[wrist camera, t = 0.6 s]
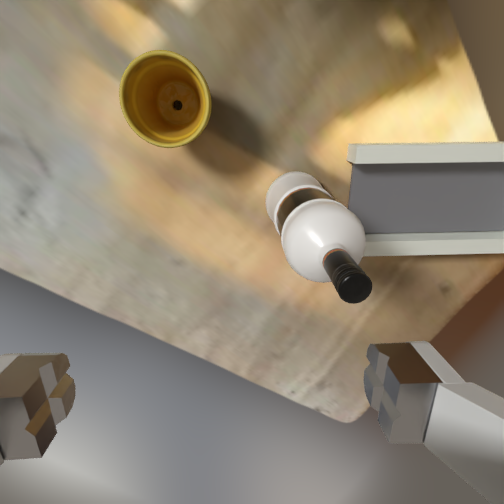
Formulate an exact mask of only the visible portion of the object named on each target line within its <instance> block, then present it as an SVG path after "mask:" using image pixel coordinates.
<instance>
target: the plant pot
mask: <svg viewBox="0 0 504 504" xmlns="http://www.w3.org/2000/svg"><path fill="white" fill-rule="evenodd" d="M119 97H120V105H121V109H122V112H123V115H124V117H125V119H126V121H127V123H128V124H129V126H130V127H131V128H132V130H133V131H134V132H135V133H136V134H137V135H138V136H139V137H141V138H142V139H143V140H145V141H147V142H148V143H151V144H153V145H156V146H159V147H164V148H174V147H180V146H183V145H186V144H188V143H190V142H192V141H193V140H195V139H196V138H197V137H198V136H199V135H200V134H201V133H202V132H203V130H204V129H205V127H206V126H207V124H208V121H209V118H210V115H211V107H212V103H211V94H210V90H209V87H208V85H207V82H206V80H205V78H204V77H203V75H202V74H201V72H200V71H199V70H198V68H197V67H196V66H195V65H194V64H193V63H192V62H190V61H189V60H188V59H187V58H185V57H183V56H181V55H180V54H177V53H175V52H171V51H166V50H154V51H150V52H146V53H144V54H142V55H140V56H138V57H137V58H136V59H134V60H133V61H132V62H131V63H130V64H129V66H128V67H127V68H126V70H125V72H124V74H123V76H122V79H121V83H120V89H119ZM177 100H178V101H180V102H181V103H182V108H181V109H180V110H176V109H175V108H174V106H173V104H174V102H175V101H177Z"/></svg>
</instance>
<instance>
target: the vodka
mask: <svg viewBox="0 0 504 504" xmlns="http://www.w3.org/2000/svg"><path fill="white" fill-rule="evenodd" d="M266 209H267V212H268V215H269V217H270V218H271V220H272V221H273V222H274V224H275V227H276V230H277V232H278V233H279V235H280V236H281V242H282V247H283V250H284V252H285V256H286V259H287V261H288V263H289V265H290V266H291V268H292V269H293V270H294V271H295V272H297V273H298V274H299V275H301V276H303V277H304V278H306V279H308V280H311V281H314V282H323V283H324V282H332V283H333V285H334V286H335V289H336V290H337V292H338V294H339V296H340V298H341V299H342V300H344V301H345V302H348V303H359V302H362V301H363V300H365V299H366V298H367V297H368V296H369V295H370V293H371V290H372V282H371V280H370V278H369V277H368V276H367V275H366V274H365V272H364V271H363V270H362V269H361V268H360V267H359V266H358V264H359V263H360V261H361V259H362V257H363V255H364V251H365V248H366V237H365V232H364V227H363V225H362V223H361V221H360V220H359V218H358V217H357V216H356V215H355V214H354V213H353V212H351V211H350V210H348V209H347V208H346V207H345V206H344V205H342V204H341V203H339V202H337V201H335V200H334V199H333V198H332V197H331V195H330V194H329V193H328V192H327V191H326V190H324V189H323V187H322V186H321V184H320V183H319V182H318V181H317V180H316V179H315V178H314V177H313V176H311V175H309V174H307V173H304V172H300V171H293V172H288V173H285V174H283V175H281V176H279V177H278V178H277V179H276V180H275V181H274V182H273V183H272V184H271V185H270V187H269V189H268V191H267V194H266Z"/></svg>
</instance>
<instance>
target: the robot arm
mask: <svg viewBox="0 0 504 504" xmlns="http://www.w3.org/2000/svg"><path fill="white" fill-rule="evenodd" d="M366 357H367V358H368V360H369V362H370V365H369V366H368V367H367V368H366V369H365V371H364V388H365V393H366V396H367V399H368V401H369V403H370V406H371V407H373V408H374V409H375V410H377V411H378V412H379V415H378V422H379V424H380V426H381V428H382V430H383V432H384V434H385V436H386V438H387V440H388V442H389V443H390V444H392V443H393V444H394V443H424V446H425V447H427V448H428V449H429V450H430V451H431V452H432V453H433V454H435V455H436V456H437V457H438V458H439V459H441V460H442V461H443V462H444V463H445V464H446V465H447V466H449V467H450V468H451V469H452V470H453V471H454V472H456V473H457V474H458V475H459V476H460V477H461V478H463V479H464V480H465V481H466V482H467V483H468V484H469V485H471V486H472V487H473V488H474V489H475V490H476V491H478V492H479V493H480V494H481V495H482V496H483V497H484V498H486V499H487V500H488V501H489V502H490V503H491V504H504V398H502V397H500V396H498V395H496V394H494V393H492V392H490V391H488V390H486V389H484V388H482V387H480V386H478V385H476V384H474V383H472V382H470V383H469V382H468V383H466V382H465V381H464V380H463V379H462V378H461V377H460V376H459V374H458V373H457V372H456V371H455V370H454V369H453V368H452V367H451V366H450V365H449V364H448V363H447V361H446V360H445V359H444V358H443V357H442V356H441V355H440V354H439V353H438V352H437V351H436V350H435V348H434V347H432V345H431V344H430V343H428V342H426V341H413V342H406V343H380V344H370V345H369V347H368V349H367V356H366ZM69 367H70V364H69V360H68V357H67V355H65V354H63V353H25V354H22V353H17V354H4V355H1V356H0V465H1V464H3V463H4V460H14V459H28V458H42V456H43V454H44V453H45V451H46V449H47V448H48V447H49V445H50V443H51V442H52V440H53V438H54V437H55V435H56V434H57V430H56V425H57V424H58V423H59V422H61V421H62V420H64V419H65V418H66V417H67V415H68V414H69V412H70V410H71V408H72V406H73V403H74V399H75V383H74V379H72V378H71V377H70V376H69V375H68V374H67V373H66V372H67V370H68V369H69Z"/></svg>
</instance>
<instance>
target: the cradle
mask: <svg viewBox="0 0 504 504" xmlns="http://www.w3.org/2000/svg"><path fill="white" fill-rule="evenodd" d="M347 161H349V162H352V163H353V166H352V175H351V184H350V194H349V203H348V210H350V211H351V212H353V213H354V214H355V215H356V216H357V217H358V218H359V220H360V221H361V223H362V225H363V227H364V232H365V237H366V248H365V251H364V255H363V256H404V255H447V254H490V253H504V142H439V143H356V144H348V152H347Z"/></svg>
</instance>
